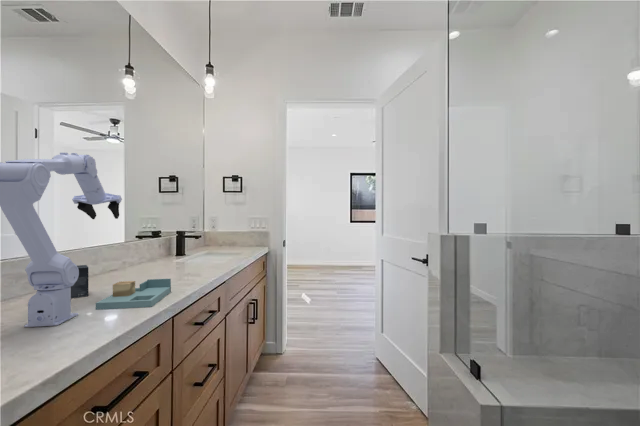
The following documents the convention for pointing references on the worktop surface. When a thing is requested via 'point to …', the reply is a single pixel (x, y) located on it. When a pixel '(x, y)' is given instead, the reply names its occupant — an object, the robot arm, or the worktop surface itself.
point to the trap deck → (139, 296)
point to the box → (80, 283)
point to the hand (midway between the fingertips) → (106, 217)
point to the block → (123, 288)
